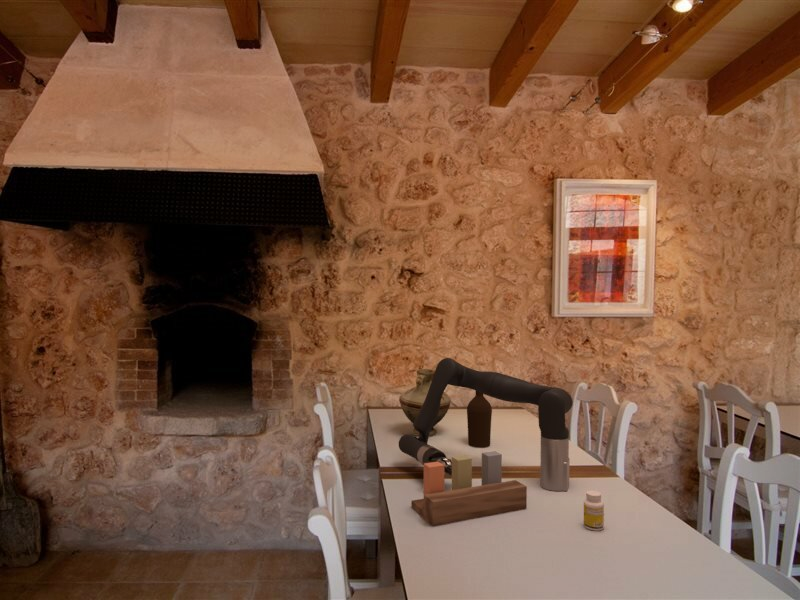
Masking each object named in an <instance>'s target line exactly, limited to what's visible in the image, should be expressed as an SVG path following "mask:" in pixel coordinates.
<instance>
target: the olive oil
mask: <svg viewBox="0 0 800 600" xmlns="http://www.w3.org/2000/svg"><path fill="white" fill-rule="evenodd" d="M474 391H475V395H474V397H473V398H472V399H471V400H470V401H469V402H468V403H467V407H466V418H467V419H466V420H467V445H468V446H469V447H472V448H476V449H477V448H479V449H480V448H482V449H483V448H488V447H490V446H491V433H492V432H491V431H492V415H493V414H492V413H493V409H492V405H491V403H490V402H489V401H488V399H487V398H486V396H484V394H482V393H480V392H478V391H476V390H474Z"/></svg>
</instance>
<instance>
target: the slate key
mask: <svg viewBox="0 0 800 600" xmlns="http://www.w3.org/2000/svg"><path fill="white" fill-rule="evenodd" d="M502 455H503V454H501V453H499V452H498V451H496V450H494V451H485V452H481V485H488V484H494V483H500V482H503V481H502V480H503V479H502V476H503V474H502V473H503V472H502V470H503V467H502V463H503V462H502V458H503V457H502Z"/></svg>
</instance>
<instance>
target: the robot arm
mask: <svg viewBox="0 0 800 600" xmlns="http://www.w3.org/2000/svg"><path fill="white" fill-rule="evenodd" d="M434 371H435V373H434V376H433V379H432V382H431V385H430V388H429V390H428V393H427V396H426V398H425V401H424V403H423V405H422V407H421V409H420V411H419V413H418V415H417V417H416V419H415V421H414V423H412V427H413V429H416V430H417V431H418V432H419V436H418V437H417V436H416V435H414V434H413V435H412V434H410V433H406V434H402V436H401V437H400V438H399V440H398V448H399V450H400V451H401V452H402V453H404V454H406V455H407V456H410V457H412V458H413V459H415V460H416V461H417V462H418V463H420V465H421V466H423V467H424V463H431V462H440V463H441V464H443V465H444V475H449V476H451V477H452V458H451V459H450V458H448V457H447V455H446V454H445V452H443V451H442V450H440V449H438V448H437V447H434V446H433V445H430V444H428V442H429V438H430V436H429V434H430V431H431V429H432V427H433V425H434V423H435V421H436V419H437V416H438V413H439V409H440V403H441V398H442V395H443V392H445V391H446V388H447V387H448V385H450V386H453V387H459V388H460V387H461V388H465V389H469V390H470V389H471V390H473V391H475V390H476V391H478V392H480V393H482V394H483V395H485V396H488V397H491V398H492V399H493V398H494V399H496V400H500V401H504V402H509V403H519V404H520V403H521V404H530V405H531V404H532V405H534V406H537V407H538V409H537V411H538V413H537V414H538V428H539V431H540V464H539V466H540V472H539V473H540V478H539V479H540V480H539V481H540V484H539V485H540V487H541V488H543V489H545V490H548V491H551V492H552V491H553V492H561V491H563V492H568V489H569V487H570V457H569V454H570V453H569V450H570V447H569V446H570V445H569V444H570V441H569V439H570V433H569V432H570V431H569V430H570V429H568V427H567V426H566V414H567V413H569V411H571V408H572V407H573V398H572V396H571V394H570V393H569V392H568V391H566V390H565V389H563V388H560V387H554V386H548V385H543V384H536V383H533V382H530V381H527V380H524V379H521V378H517V377H514V376H511V375H508V374H505V373H501V372H496V371H482V370H481V371H480V370H476V369H473V368H471V367H468V366H465V365H463V364H461V363H460V362H458V361H456V360H455V359H453V358H450V357H445V358H442V359H441V360H440V361H439V362H438V363H437V365H436V366H435V370H434ZM476 391H475V392H476ZM433 428H434V427H433Z"/></svg>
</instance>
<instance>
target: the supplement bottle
mask: <svg viewBox="0 0 800 600" xmlns="http://www.w3.org/2000/svg"><path fill="white" fill-rule="evenodd" d="M585 495H586V496H585V497H586V498H585V499H584V500H583V526H584V528H585V529H588V530H590V531H603V530H604V528H605V504H604V501H603V500H602V493H601V492H600V491H597V490H587V491H586V494H585Z"/></svg>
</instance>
